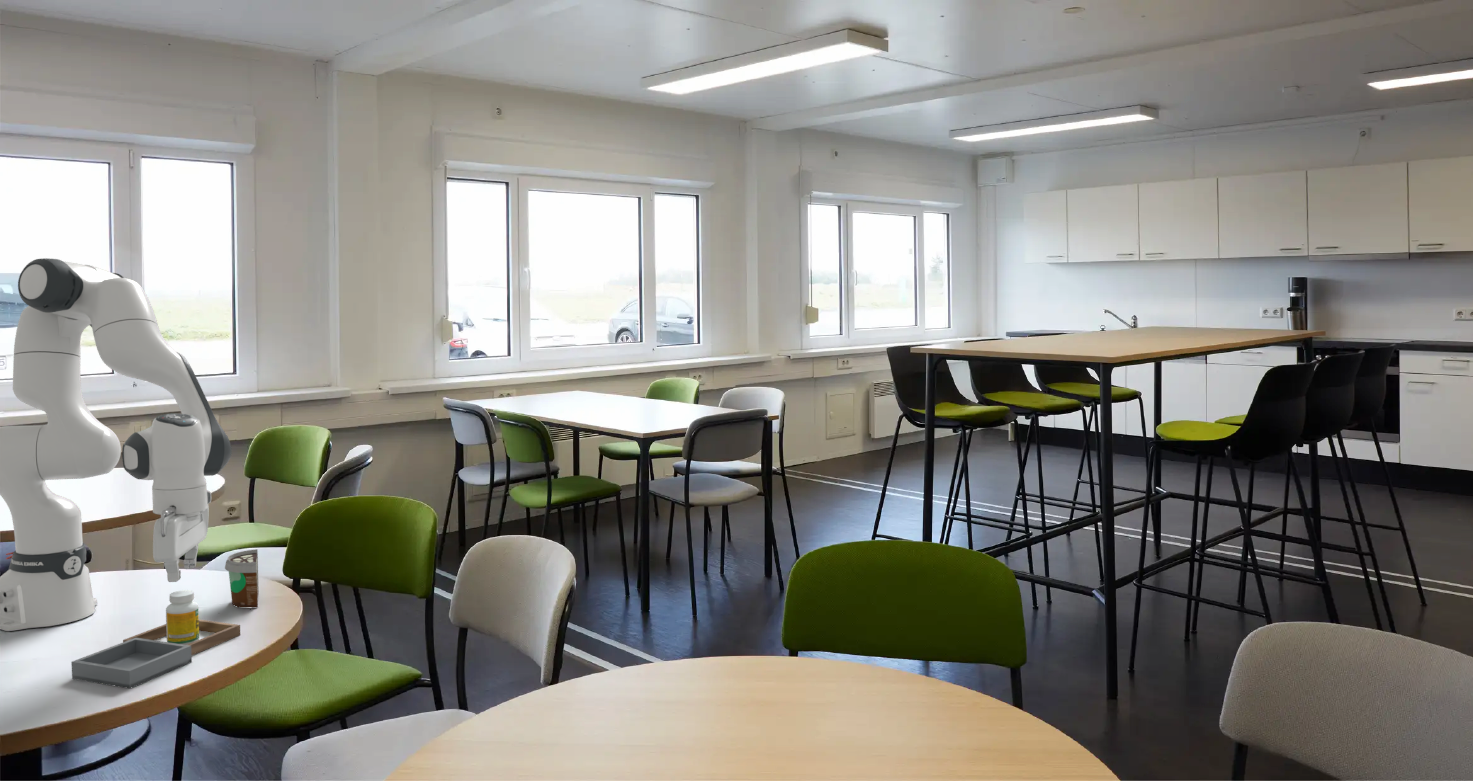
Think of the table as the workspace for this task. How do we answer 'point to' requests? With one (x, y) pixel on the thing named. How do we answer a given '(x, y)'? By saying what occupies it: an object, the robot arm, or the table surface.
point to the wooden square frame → (220, 629)
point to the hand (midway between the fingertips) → (182, 574)
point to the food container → (243, 578)
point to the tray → (131, 662)
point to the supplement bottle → (182, 618)
